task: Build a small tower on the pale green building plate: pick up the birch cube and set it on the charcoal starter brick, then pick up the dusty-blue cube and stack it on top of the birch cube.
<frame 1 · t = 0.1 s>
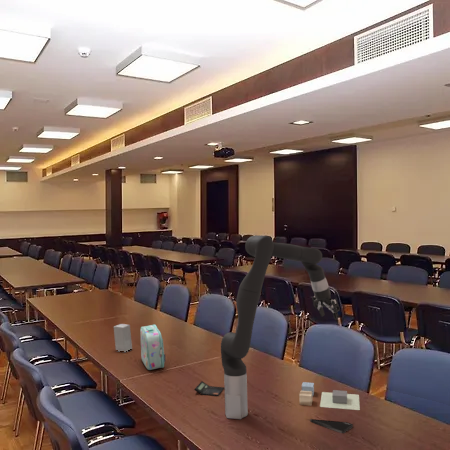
hand: (329, 317, 219), 31 cm above the table, tool tilted 20°, fingers open, 8 cm apart
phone: (331, 425, 177), on the table
skincare box: (123, 350, 280), on the table
birch block: (306, 404, 195), on the table
building plate: (340, 402, 196), on the table
calculator: (209, 392, 213), on the table
base brick: (339, 400, 196), resting on building plate
blue block: (308, 395, 205), on the table
lunch box: (152, 365, 253), on the table
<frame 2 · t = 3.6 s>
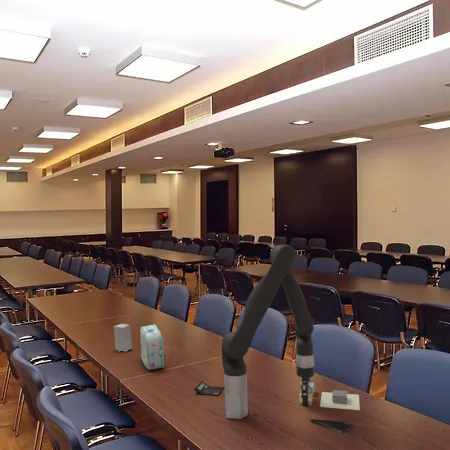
hand: (306, 403, 195), 0 cm above the table, tool pointing down, fingers closed on birch block, 5 cm apart
birch block: (306, 404, 195), on the table, touching gripper
everything else where it was.
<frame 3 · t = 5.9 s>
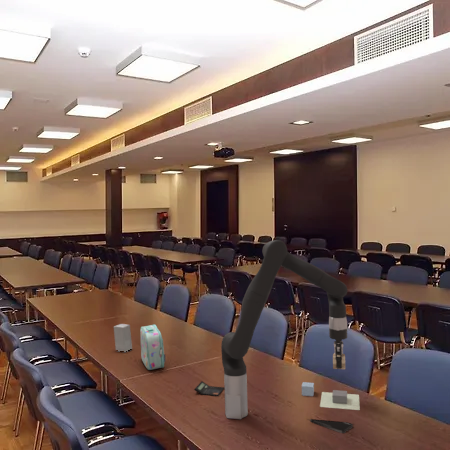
hand: (339, 365, 196), 16 cm above the table, tool pointing down, fingers closed on birch block, 5 cm apart
birch block: (339, 367, 196), point 15 cm above the table, touching gripper
everything else where it was.
when the fingers open (5 cm above the table, at t = 8.2 s): birch block stays where it is, resting on base brick.
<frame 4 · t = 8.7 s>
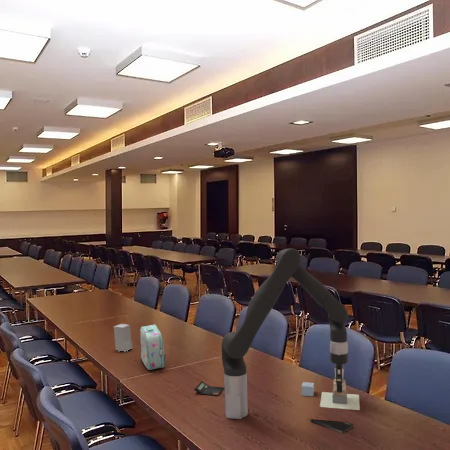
hand: (339, 388, 196), 6 cm above the table, tool pointing down, fingers open, 8 cm apart
birch block: (339, 393, 196), point 4 cm above the table, touching base brick
everything else where it was.
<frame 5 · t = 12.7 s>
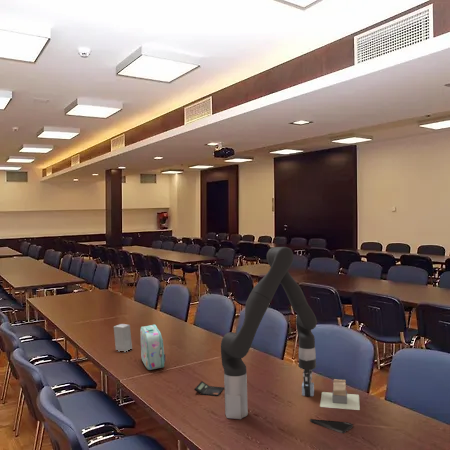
hand: (308, 394, 205), 0 cm above the table, tool pointing down, fingers closed on blue block, 5 cm apart
blue block: (308, 395, 205), on the table, touching gripper
everything else where it was.
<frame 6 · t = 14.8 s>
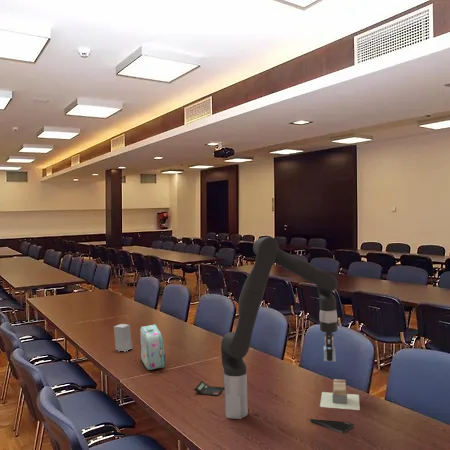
hand: (329, 358, 199), 18 cm above the table, tool pointing down, fingers closed on blue block, 5 cm apart
blue block: (329, 359, 199), point 18 cm above the table, touching gripper
everything else where it was.
when the fingers open (10 cm above the table, at t = 17.2 s): blue block stays where it is, resting on birch block.
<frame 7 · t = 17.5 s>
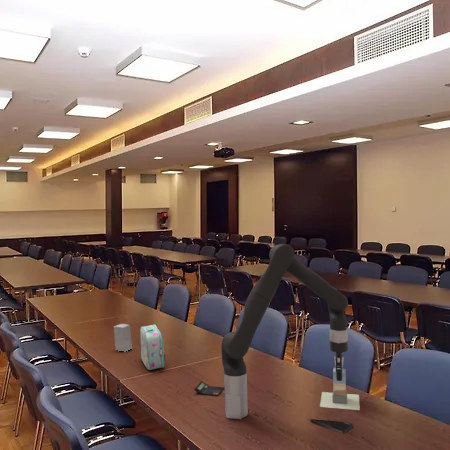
hand: (339, 377, 196), 11 cm above the table, tool pointing down, fingers open, 8 cm apart
birch block: (339, 393, 196), point 4 cm above the table, touching base brick, blue block
blue block: (339, 381, 196), point 9 cm above the table, touching birch block
everything else where it was.
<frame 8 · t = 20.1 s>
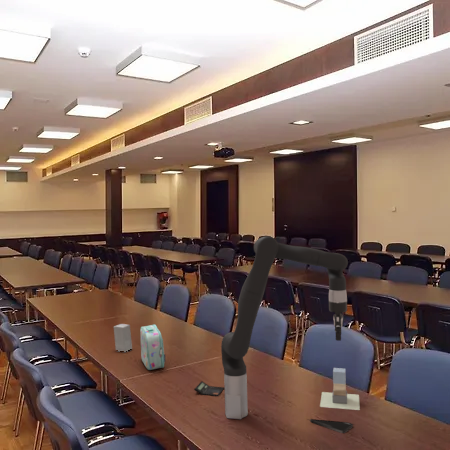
hand: (338, 337, 196), 28 cm above the table, tool pointing down, fingers open, 8 cm apart
nothing on the table moved.
at the end: birch block 0.0 cm from the target spot, point 4.0 cm above the table; blue block 0.0 cm from the target spot, point 9.0 cm above the table; blue block tilted 0° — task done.
